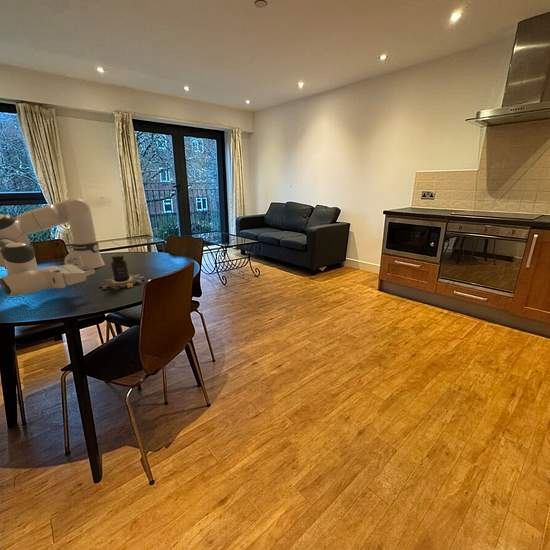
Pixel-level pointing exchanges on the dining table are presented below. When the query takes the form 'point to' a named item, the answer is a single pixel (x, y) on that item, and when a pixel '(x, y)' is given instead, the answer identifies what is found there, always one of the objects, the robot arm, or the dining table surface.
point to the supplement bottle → (119, 268)
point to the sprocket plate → (117, 285)
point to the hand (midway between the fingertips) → (90, 269)
